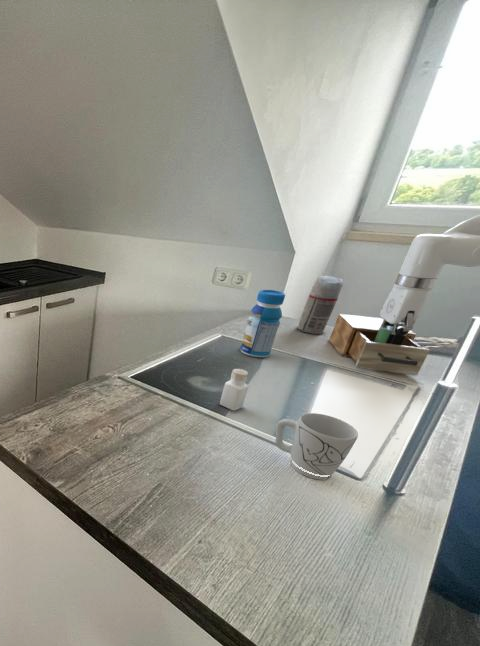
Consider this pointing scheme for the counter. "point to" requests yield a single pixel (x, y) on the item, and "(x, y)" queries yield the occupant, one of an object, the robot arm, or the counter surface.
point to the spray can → (320, 304)
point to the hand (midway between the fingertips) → (387, 343)
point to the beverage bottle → (263, 324)
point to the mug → (317, 443)
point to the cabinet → (348, 326)
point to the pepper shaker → (235, 390)
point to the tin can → (384, 333)
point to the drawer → (386, 354)
